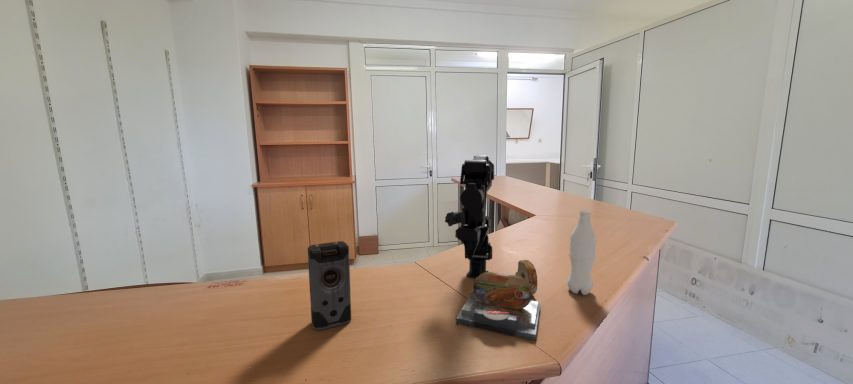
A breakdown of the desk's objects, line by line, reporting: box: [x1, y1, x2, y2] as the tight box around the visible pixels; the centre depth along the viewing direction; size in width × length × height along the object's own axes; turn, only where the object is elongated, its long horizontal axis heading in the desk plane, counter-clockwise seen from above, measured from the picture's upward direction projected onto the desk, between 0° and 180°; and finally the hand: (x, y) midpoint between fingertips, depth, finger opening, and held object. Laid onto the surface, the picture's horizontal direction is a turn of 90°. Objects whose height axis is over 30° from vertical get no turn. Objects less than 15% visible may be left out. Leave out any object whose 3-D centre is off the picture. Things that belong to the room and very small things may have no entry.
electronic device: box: [307, 240, 352, 331], centre depth 82 cm, size 9×6×20 cm, turn 117°
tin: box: [472, 271, 532, 309], centre depth 87 cm, size 15×3×8 cm, turn 68°
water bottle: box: [566, 209, 597, 296], centre depth 99 cm, size 7×7×25 cm
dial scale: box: [455, 290, 541, 342], centre depth 85 cm, size 18×19×4 cm
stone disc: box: [514, 259, 538, 296], centre depth 99 cm, size 10×4×10 cm, turn 5°
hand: (473, 254), depth 98 cm, fingers open, 9 cm apart
